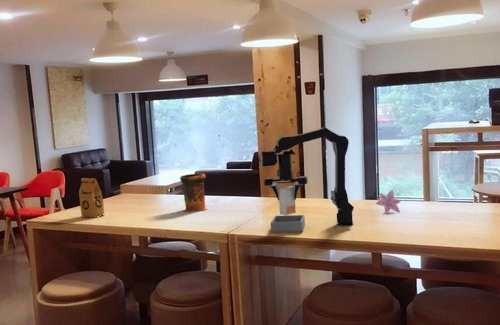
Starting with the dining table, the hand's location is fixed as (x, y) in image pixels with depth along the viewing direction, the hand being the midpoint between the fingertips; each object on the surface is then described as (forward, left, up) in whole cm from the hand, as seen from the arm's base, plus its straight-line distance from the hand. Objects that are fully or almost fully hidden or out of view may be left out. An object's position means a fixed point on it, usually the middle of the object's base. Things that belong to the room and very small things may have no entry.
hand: (287, 200), depth 210 cm
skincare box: (0, 0, -6) cm, 6 cm away
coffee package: (+115, -37, -13) cm, 122 cm away
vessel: (+58, -48, -13) cm, 76 cm away
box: (0, 0, -13) cm, 13 cm away
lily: (-46, -30, -13) cm, 57 cm away
